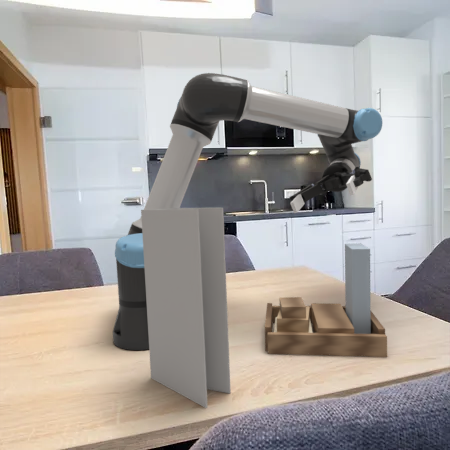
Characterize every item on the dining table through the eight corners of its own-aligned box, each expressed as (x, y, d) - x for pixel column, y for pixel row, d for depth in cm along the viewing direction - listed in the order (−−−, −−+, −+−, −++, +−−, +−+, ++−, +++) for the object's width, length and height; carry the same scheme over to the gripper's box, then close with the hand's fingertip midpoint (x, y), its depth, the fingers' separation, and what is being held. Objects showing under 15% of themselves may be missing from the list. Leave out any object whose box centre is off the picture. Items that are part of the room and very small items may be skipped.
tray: (265, 353, 71) (264, 329, 71) (268, 321, 90) (267, 301, 89) (387, 357, 68) (387, 331, 68) (364, 322, 86) (364, 302, 86)
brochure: (231, 392, 58) (223, 207, 55) (206, 408, 54) (197, 209, 51) (175, 366, 68) (166, 208, 65) (151, 378, 64) (141, 209, 61)
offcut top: (282, 318, 76) (281, 307, 76) (279, 308, 83) (279, 297, 82) (306, 318, 75) (305, 306, 75) (301, 307, 82) (301, 297, 82)
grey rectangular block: (352, 345, 74) (351, 249, 72) (345, 330, 82) (344, 243, 80) (370, 345, 73) (370, 249, 72) (361, 330, 81) (361, 243, 80)
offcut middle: (277, 332, 76) (276, 318, 76) (281, 317, 85) (281, 305, 85) (308, 334, 74) (308, 320, 74) (309, 319, 83) (309, 306, 83)
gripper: (391, 171, 92) (383, 196, 74) (302, 201, 105) (279, 228, 88) (380, 144, 90) (370, 163, 73) (293, 178, 104) (266, 200, 87)
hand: (320, 199), depth 81 cm, fingers open, 13 cm apart
